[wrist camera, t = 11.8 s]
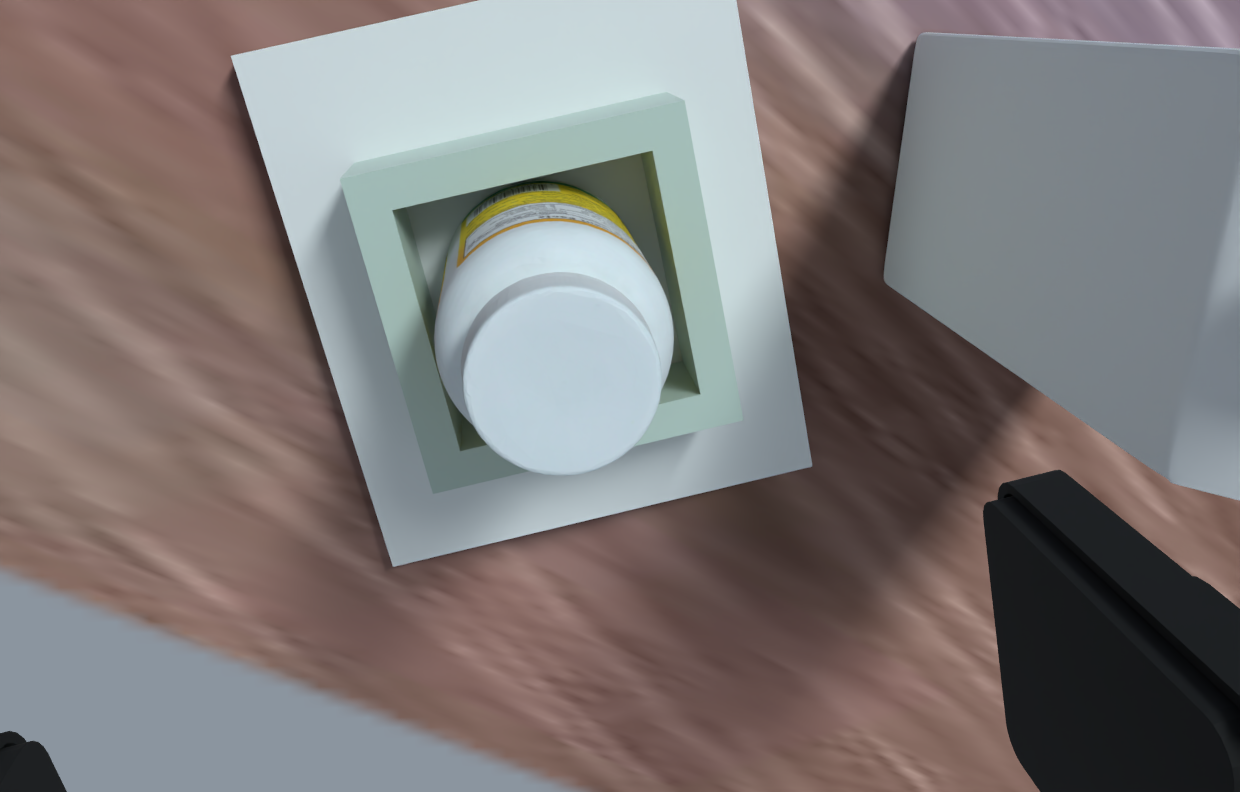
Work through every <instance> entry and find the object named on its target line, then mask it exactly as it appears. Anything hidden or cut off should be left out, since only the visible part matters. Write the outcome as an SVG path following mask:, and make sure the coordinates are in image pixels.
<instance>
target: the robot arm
mask: <svg viewBox="0 0 1240 792" xmlns="http://www.w3.org/2000/svg"><path fill="white" fill-rule="evenodd" d="M983 519H984V528H985V537H986V546H987V555H988V564H989V573H990V582H991V591H992V600H993V609H994V618H995V627H996V636H997V645H998V654H999V663H1000V672H1001V681H1002V690H1003V699H1004V708H1005V717H1006V725H1007V730H1008V734H1009V738H1010V741H1011V744H1012V746H1013V749H1014V751H1015V754H1016V756H1017V758H1018V760H1019V761H1020V763H1021V765H1022V766H1023V768H1024V769H1025V770H1026V772H1027V773H1028V775H1029V776H1030V777H1031V779H1032V780H1033V782H1034V783H1035V785H1036V786H1037V787H1038V789H1039V790H1040V792H1240V609H1239V608H1238V607H1237V606H1236V605H1234V604H1233V603H1232V602H1231V601H1229V600H1228V599H1227V598H1226V597H1224V596H1223V595H1222V594H1221V593H1219V592H1218V591H1217V590H1216V589H1215V588H1213V587H1212V586H1211V585H1210V584H1208V583H1206V582H1205V581H1203V580H1201V579H1199V578H1198V577H1195V576H1191V575H1190V574H1189V573H1188V572H1186V571H1185V570H1184V569H1183V568H1181V567H1180V566H1179V565H1178V564H1177V563H1175V562H1174V561H1173V560H1172V559H1170V558H1169V557H1168V556H1167V555H1166V554H1164V553H1163V552H1162V551H1161V550H1159V549H1158V548H1157V547H1156V546H1154V545H1153V544H1152V543H1151V542H1150V541H1148V540H1147V539H1146V538H1145V537H1143V536H1142V535H1141V534H1140V533H1139V532H1137V531H1136V530H1135V529H1134V528H1132V527H1131V526H1130V525H1129V524H1128V523H1126V522H1125V521H1124V520H1123V519H1121V518H1120V517H1119V516H1118V515H1116V514H1115V513H1114V512H1113V511H1112V510H1110V509H1109V508H1108V507H1107V506H1105V505H1104V504H1103V503H1102V502H1101V501H1099V500H1098V499H1097V498H1096V497H1094V496H1093V495H1092V494H1091V493H1090V492H1088V491H1087V490H1086V489H1085V488H1083V487H1082V486H1081V485H1080V484H1078V483H1077V482H1076V481H1075V480H1074V479H1072V478H1071V477H1070V476H1069V475H1067V474H1066V473H1065V472H1063V471H1061V470H1055V471H1050V472H1046V473H1042V474H1038V475H1034V476H1030V477H1026V478H1022V479H1018V480H1014V481H1010V482H1006V483H1002V485H1001V486H1000V488H999V492H998V500H995V501H991V502H987V503H986V504H985V505H984V510H983ZM0 792H67V791H66V790H65V787H64V785H63V783H62V781H61V779H60V777H59V775H58V773H57V771H56V769H55V767H54V765H53V763H52V761H51V758H50V756H49V754H48V753H47V751H46V750H45V748H44V747H43V746H42V745H41V744H40V743H39V742H35V741H30V742H26V740H25V739H24V738H23V737H22V736H20V735H19V734H18V733H16V732H11V731H8V732H4V733H0Z"/></svg>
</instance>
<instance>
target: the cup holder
mask: <svg viewBox="0 0 1240 792" xmlns="http://www.w3.org/2000/svg"><path fill="white" fill-rule="evenodd" d="M231 58H232V61H233V65H234V68H235V71H236V74H237V77H238V80H239V83H240V87H241V90H242V93H243V96H244V99H245V102H246V105H247V109H248V112H249V115H250V118H251V121H252V124H253V128H254V131H255V134H256V137H257V140H258V143H259V146H260V150H261V153H262V156H263V159H264V162H265V165H266V168H267V172H268V175H269V178H270V181H271V184H272V187H273V190H274V194H275V197H276V200H277V203H278V206H279V209H280V213H281V216H282V219H283V222H284V225H285V228H286V231H287V235H288V238H289V241H290V244H291V247H292V250H293V253H294V257H295V260H296V263H297V266H298V269H299V272H300V276H301V279H302V282H303V285H304V288H305V291H306V294H307V298H308V301H309V304H310V307H311V310H312V313H313V316H314V320H315V323H316V326H317V329H318V332H319V335H320V338H321V342H322V345H323V348H324V351H325V354H326V357H327V361H328V364H329V367H330V370H331V373H332V376H333V379H334V383H335V386H336V389H337V392H338V395H339V398H340V401H341V405H342V408H343V411H344V414H345V417H346V420H347V423H348V427H349V430H350V433H351V436H352V439H353V442H354V446H355V449H356V452H357V455H358V458H359V461H360V464H361V468H362V471H363V474H364V477H365V480H366V483H367V486H368V490H369V493H370V496H371V499H372V502H373V505H374V508H375V512H376V515H377V518H378V521H379V524H380V527H381V531H382V534H383V537H384V540H385V543H386V546H387V549H388V553H389V556H390V559H391V562H392V565H393V567H395V566H399V565H403V564H407V563H411V562H415V561H420V560H424V559H428V558H432V557H436V556H441V555H445V554H449V553H453V552H457V551H461V550H466V549H470V548H474V547H478V546H482V545H486V544H491V543H495V542H499V541H503V540H507V539H512V538H516V537H520V536H524V535H528V534H532V533H537V532H541V531H545V530H549V529H553V528H557V527H562V526H566V525H570V524H574V523H578V522H583V521H587V520H591V519H595V518H599V517H603V516H608V515H612V514H616V513H620V512H624V511H628V510H633V509H637V508H641V507H645V506H649V505H654V504H658V503H662V502H666V501H670V500H674V499H679V498H683V497H687V496H691V495H695V494H699V493H704V492H708V491H712V490H716V489H720V488H725V487H729V486H733V485H737V484H741V483H745V482H750V481H754V480H758V479H762V478H766V477H770V476H775V475H779V474H783V473H787V472H791V471H796V470H800V469H804V468H808V467H812V461H811V455H810V448H809V442H808V436H807V430H806V424H805V418H804V412H803V406H802V400H801V393H800V387H799V381H798V375H797V369H796V363H795V357H794V351H793V345H792V338H791V332H790V326H789V320H788V314H787V308H786V302H785V296H784V289H783V283H782V277H781V271H780V265H779V259H778V253H777V247H776V241H775V234H774V228H773V222H772V216H771V210H770V204H769V198H768V192H767V186H766V179H765V173H764V167H763V161H762V155H761V149H760V143H759V137H758V130H757V124H756V118H755V112H754V106H753V100H752V94H751V88H750V82H749V75H748V69H747V63H746V57H745V51H744V45H743V39H742V33H741V27H740V20H739V14H738V8H737V2H736V0H479V1H474V2H470V3H465V4H461V5H457V6H452V7H448V8H443V9H439V10H434V11H430V12H425V13H421V14H416V15H412V16H407V17H403V18H398V19H394V20H389V21H385V22H380V23H376V24H372V25H367V26H363V27H358V28H354V29H349V30H345V31H340V32H336V33H331V34H327V35H322V36H318V37H313V38H309V39H304V40H300V41H295V42H291V43H287V44H282V45H278V46H273V47H269V48H264V49H260V50H255V51H251V52H246V53H242V54H237V55H233V56H231ZM535 179H547V180H557V181H561V182H566V183H570V184H573V185H576V186H579V187H581V188H583V189H585V190H587V191H589V192H591V193H593V194H594V195H596V196H597V197H599V198H600V199H602V200H603V201H604V202H605V203H607V204H608V205H609V206H610V207H611V208H612V209H613V210H614V211H615V213H616V214H617V215H618V216H619V217H620V219H621V220H622V222H623V223H624V225H625V226H626V227H627V229H628V231H629V233H630V234H631V236H632V238H633V240H634V241H635V243H636V244H637V246H638V248H639V249H640V251H641V252H642V254H643V256H644V257H645V259H646V261H647V262H648V264H649V265H650V267H651V269H652V270H653V272H654V274H655V275H656V277H657V279H658V280H659V282H660V284H661V286H662V288H663V291H664V293H665V295H666V298H667V301H668V304H669V307H670V311H671V316H672V322H673V331H674V344H673V355H672V361H671V365H670V369H669V373H668V376H667V379H666V381H665V383H664V386H663V388H662V390H661V396H660V402H659V405H658V408H657V410H656V413H655V415H654V418H653V420H652V422H651V424H650V426H649V427H648V429H647V430H646V432H645V433H644V435H643V436H642V438H641V439H640V440H639V441H638V442H637V443H636V444H635V445H634V446H633V447H632V448H631V449H630V450H629V451H628V452H626V453H625V454H624V455H623V456H621V457H620V458H619V459H617V460H616V461H614V462H612V463H610V464H608V465H606V466H604V467H602V468H599V469H597V470H594V471H591V472H587V473H583V474H578V475H568V476H555V475H544V474H539V473H535V472H532V471H528V470H525V469H523V468H520V467H518V466H515V465H514V464H512V463H510V462H509V461H507V460H505V459H504V458H502V457H501V456H499V455H498V454H497V453H496V452H494V451H493V450H492V449H491V448H490V447H489V446H488V445H487V444H486V443H485V441H484V440H483V439H482V438H481V437H480V436H479V434H478V433H477V431H476V429H475V428H474V426H473V425H472V424H471V423H470V422H469V421H468V420H467V419H466V418H465V417H464V416H463V415H462V413H461V412H460V411H459V410H458V408H457V407H456V406H455V404H454V403H453V401H452V400H451V398H450V396H449V394H448V393H447V391H446V389H445V386H444V384H443V381H442V379H441V376H440V373H439V370H438V366H437V362H436V354H435V343H434V334H435V322H436V315H437V310H438V304H439V299H440V293H441V287H442V281H443V274H444V268H445V262H446V256H447V252H448V249H449V245H450V242H451V239H452V237H453V235H454V233H455V231H456V229H457V227H458V226H459V224H460V222H461V221H462V219H463V218H464V217H465V216H466V214H467V213H468V212H469V211H470V210H471V209H472V208H473V207H474V206H475V205H476V204H477V203H478V202H480V201H481V200H482V199H483V198H485V197H486V196H488V195H489V194H491V193H493V192H494V191H496V190H498V189H500V188H502V187H505V186H508V185H510V184H514V183H517V182H522V181H527V180H535Z"/></svg>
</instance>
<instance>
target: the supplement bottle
mask: <svg viewBox="0 0 1240 792" xmlns="http://www.w3.org/2000/svg"><path fill="white" fill-rule="evenodd" d="M434 343H435V354H436V362H437V366H438V370H439V373H440V376H441V379H442V381H443V384H444V386H445V389H446V391H447V393H448V394H449V396H450V398H451V400H452V401H453V403H454V404H455V406H456V407H457V408H458V410H459V411H460V412H461V413H462V415H463V416H464V417H465V418H466V419H467V420H468V421H469V422H470V423H471V424H472V425H473V426H474V428H475V429H476V431H477V433H478V434H479V436H480V437H481V438H482V439H483V440H484V441H485V443H486V444H487V445H488V446H489V447H490V448H491V449H492V450H493V451H494V452H496V453H497V454H498V455H499V456H501V457H502V458H504V459H505V460H507V461H509V462H510V463H512V464H514V465H515V466H518V467H520V468H523V469H525V470H528V471H532V472H535V473H539V474H544V475H555V476H568V475H578V474H583V473H587V472H591V471H594V470H597V469H599V468H602V467H604V466H606V465H608V464H610V463H612V462H614V461H616V460H617V459H619V458H620V457H621V456H623V455H624V454H625V453H626V452H628V451H629V450H630V449H631V448H632V447H633V446H634V445H635V444H636V443H637V442H638V441H639V440H640V439H641V438H642V436H643V435H644V433H645V432H646V430H647V429H648V427H649V426H650V424H651V422H652V420H653V418H654V415H655V413H656V410H657V408H658V405H659V402H660V396H661V390H662V388H663V386H664V383H665V381H666V379H667V376H668V373H669V369H670V365H671V361H672V355H673V344H674V331H673V322H672V316H671V311H670V307H669V304H668V301H667V298H666V295H665V293H664V291H663V288H662V286H661V284H660V282H659V280H658V279H657V277H656V275H655V274H654V272H653V270H652V269H651V267H650V265H649V264H648V262H647V261H646V259H645V257H644V256H643V254H642V252H641V251H640V249H639V248H638V246H637V244H636V243H635V241H634V240H633V238H632V236H631V234H630V233H629V231H628V229H627V227H626V226H625V225H624V223H623V222H622V220H621V219H620V217H619V216H618V215H617V214H616V213H615V211H614V210H613V209H612V208H611V207H610V206H609V205H608V204H607V203H605V202H604V201H603V200H602V199H600V198H599V197H597V196H596V195H594V194H593V193H591V192H589V191H587V190H585V189H583V188H581V187H579V186H576V185H573V184H570V183H566V182H561V181H557V180H547V179H535V180H527V181H522V182H517V183H514V184H510V185H508V186H505V187H502V188H500V189H498V190H496V191H494V192H493V193H491V194H489V195H488V196H486V197H485V198H483V199H482V200H481V201H480V202H478V203H477V204H476V205H475V206H474V207H473V208H472V209H471V210H470V211H469V212H468V213H467V214H466V216H465V217H464V218H463V219H462V221H461V222H460V224H459V226H458V227H457V229H456V231H455V233H454V235H453V237H452V239H451V242H450V245H449V249H448V252H447V256H446V262H445V268H444V274H443V281H442V287H441V293H440V299H439V304H438V310H437V315H436V322H435V334H434Z"/></svg>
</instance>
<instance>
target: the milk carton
mask: <svg viewBox="0 0 1240 792" xmlns="http://www.w3.org/2000/svg"><path fill="white" fill-rule="evenodd" d="M884 281H885V283H886V284H887V285H888V286H890V287H891V288H892V289H894V290H895V291H897V292H898V293H900V294H901V295H903V296H904V297H905V298H907V299H908V300H910V301H911V302H913V303H914V304H915V305H917V306H918V307H920V308H921V309H923V310H924V311H925V312H927V313H928V314H930V315H931V316H933V317H934V318H935V319H937V320H938V321H940V322H941V323H943V324H944V325H946V326H947V327H948V328H950V329H951V330H953V331H954V332H956V333H957V334H958V335H960V336H961V337H963V338H964V339H966V340H967V341H968V342H970V343H971V344H973V345H974V346H976V347H977V348H978V349H980V350H981V351H983V352H984V353H986V354H987V355H989V356H990V357H991V358H993V359H994V360H996V361H997V362H999V363H1000V364H1001V365H1003V366H1004V367H1006V368H1007V369H1009V370H1010V371H1011V372H1013V373H1014V374H1016V375H1017V376H1019V377H1020V378H1021V379H1023V380H1024V381H1026V382H1027V383H1029V384H1030V385H1032V386H1033V387H1034V388H1036V389H1037V390H1039V391H1040V392H1042V393H1043V394H1044V395H1046V396H1047V397H1049V398H1050V399H1052V400H1053V401H1054V402H1056V403H1057V404H1059V405H1060V406H1062V407H1063V408H1064V409H1066V410H1067V411H1069V412H1070V413H1072V414H1073V415H1075V416H1076V417H1077V418H1079V419H1080V420H1082V421H1083V422H1085V423H1086V424H1087V425H1089V426H1090V427H1092V428H1093V429H1095V430H1096V431H1097V432H1099V433H1100V434H1102V435H1103V436H1105V437H1106V438H1107V439H1109V440H1110V441H1112V442H1113V443H1115V444H1116V445H1118V446H1119V447H1120V448H1122V449H1123V450H1125V451H1126V452H1128V453H1129V454H1130V455H1132V456H1133V457H1135V458H1136V459H1138V460H1139V461H1141V462H1142V463H1144V464H1145V465H1147V466H1148V467H1150V468H1151V469H1153V470H1154V471H1156V472H1157V473H1159V474H1161V475H1162V476H1164V477H1166V478H1167V479H1168V480H1169V481H1170V482H1171V483H1174V484H1177V485H1181V486H1185V487H1189V488H1193V489H1196V490H1200V491H1204V492H1208V493H1212V494H1216V495H1220V496H1224V497H1228V498H1232V499H1236V500H1240V49H1235V48H1216V47H1197V46H1178V45H1159V44H1140V43H1121V42H1101V41H1082V40H1063V39H1044V38H1025V37H1006V36H987V35H968V34H949V33H930V32H927V33H921V34H920V35H919V36H918V38H917V42H916V46H915V52H914V59H913V66H912V73H911V80H910V87H909V94H908V101H907V108H906V115H905V123H904V130H903V137H902V144H901V151H900V158H899V165H898V172H897V180H896V187H895V194H894V201H893V208H892V215H891V222H890V229H889V237H888V244H887V251H886V258H885V266H884Z"/></svg>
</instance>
